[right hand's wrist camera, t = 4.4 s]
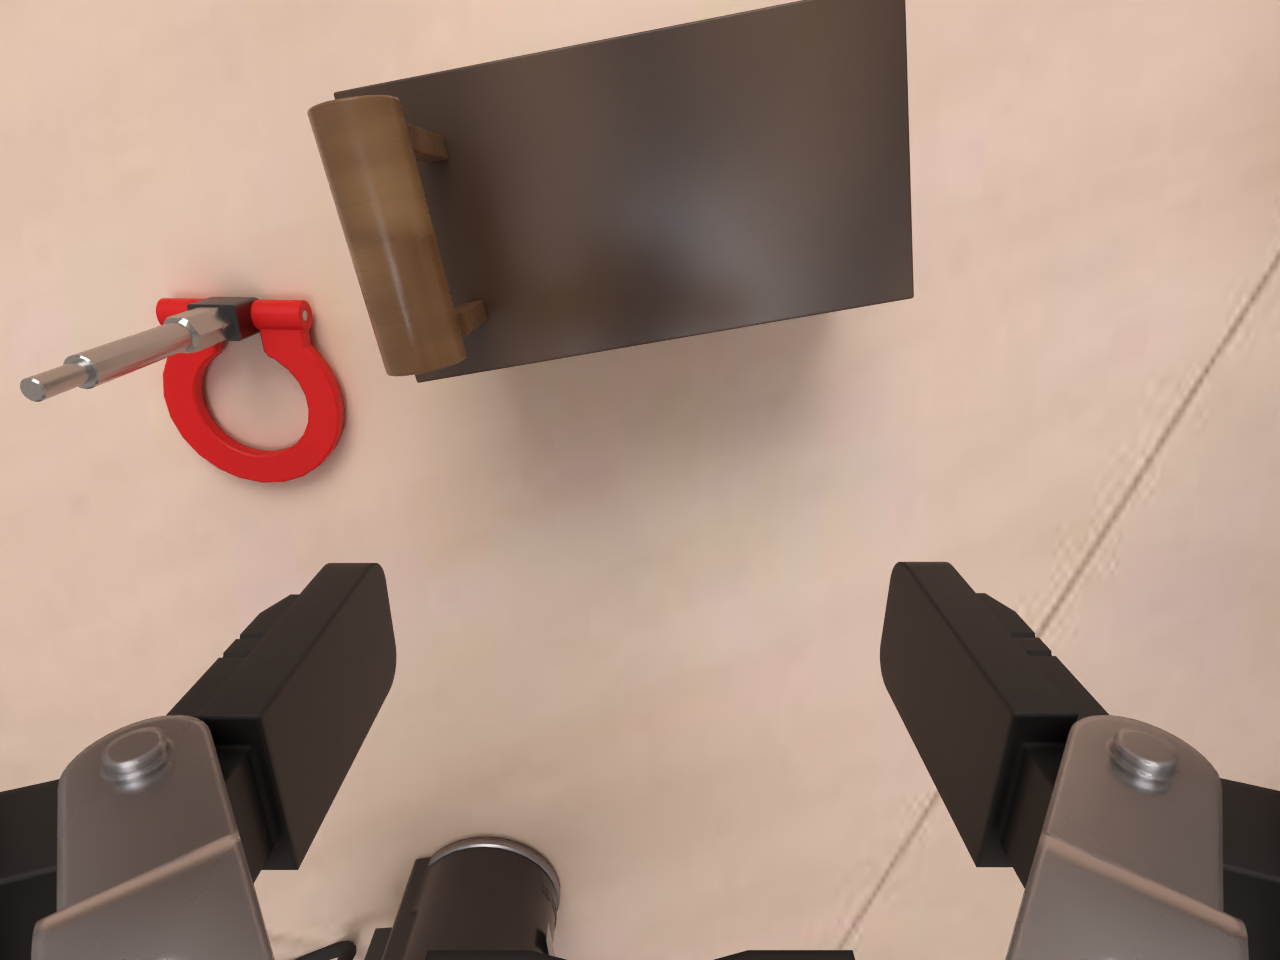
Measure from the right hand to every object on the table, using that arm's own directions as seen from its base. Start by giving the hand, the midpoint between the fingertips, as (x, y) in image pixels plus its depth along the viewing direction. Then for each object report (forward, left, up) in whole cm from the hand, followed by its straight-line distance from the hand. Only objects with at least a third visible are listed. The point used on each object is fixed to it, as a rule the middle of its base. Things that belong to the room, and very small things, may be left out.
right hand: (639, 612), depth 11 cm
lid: (+1, +6, -16) cm, 17 cm away
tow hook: (-19, -1, -25) cm, 31 cm away
